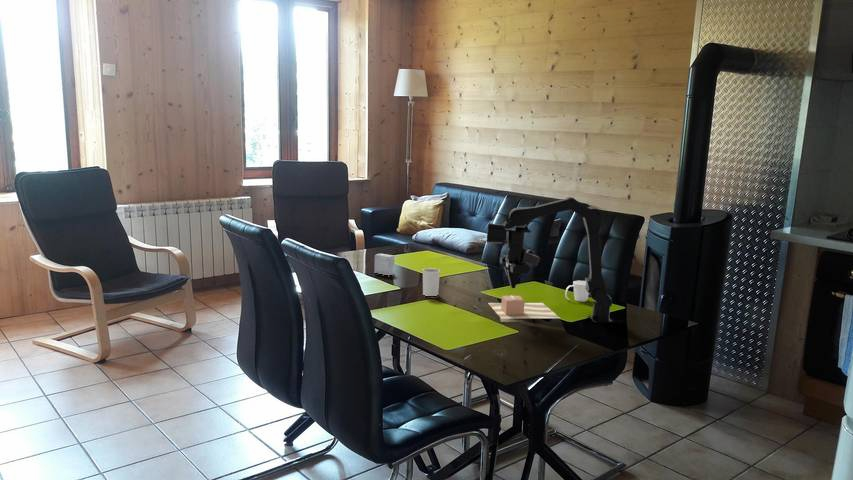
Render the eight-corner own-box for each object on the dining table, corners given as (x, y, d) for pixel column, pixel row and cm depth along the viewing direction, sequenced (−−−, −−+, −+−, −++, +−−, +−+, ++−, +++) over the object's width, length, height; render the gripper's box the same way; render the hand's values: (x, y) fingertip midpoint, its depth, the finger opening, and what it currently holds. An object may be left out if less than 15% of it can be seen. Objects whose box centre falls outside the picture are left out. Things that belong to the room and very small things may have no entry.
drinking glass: (442, 295, 263) (443, 270, 261) (430, 298, 258) (431, 272, 256) (430, 292, 267) (430, 267, 266) (418, 295, 263) (419, 269, 261)
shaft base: (560, 321, 234) (561, 308, 233) (501, 321, 231) (501, 308, 230) (542, 306, 253) (543, 294, 252) (487, 306, 250) (488, 294, 249)
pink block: (523, 314, 236) (524, 299, 236) (505, 314, 236) (506, 299, 235) (518, 309, 243) (519, 295, 242) (501, 309, 242) (502, 295, 241)
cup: (593, 305, 257) (594, 284, 256) (568, 306, 255) (570, 285, 253) (584, 300, 264) (586, 280, 262) (560, 301, 261) (562, 280, 260)
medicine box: (394, 275, 296) (395, 255, 294) (388, 276, 292) (389, 257, 290) (380, 272, 300) (380, 253, 298) (373, 274, 296) (374, 254, 295)
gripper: (546, 249, 227) (543, 294, 230) (530, 240, 245) (527, 282, 248) (514, 249, 225) (511, 294, 228) (500, 239, 244) (498, 281, 246)
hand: (513, 288), depth 238 cm, fingers closed
